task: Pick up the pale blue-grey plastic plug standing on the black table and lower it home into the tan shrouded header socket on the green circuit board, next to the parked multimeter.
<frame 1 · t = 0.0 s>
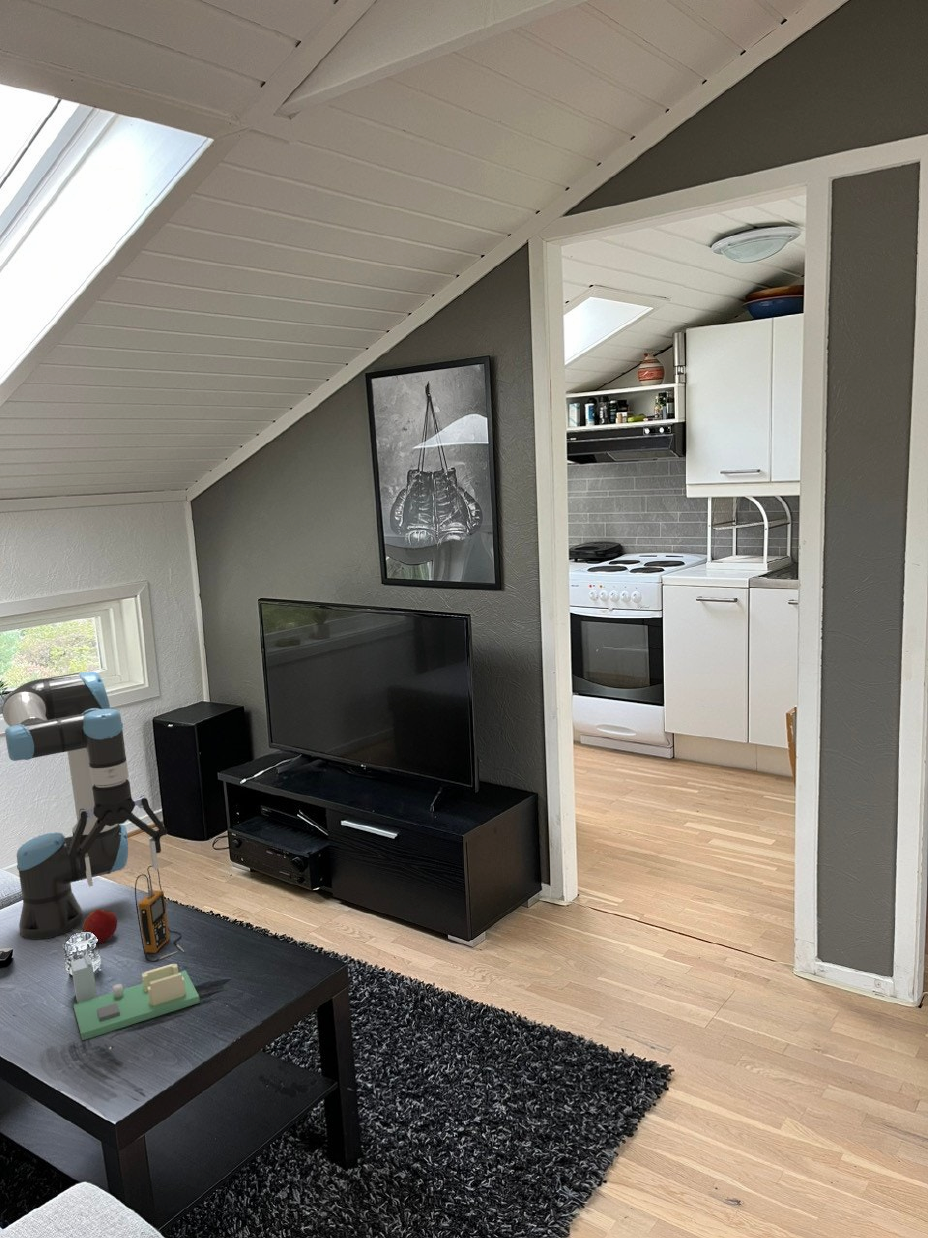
hand: (123, 876, 207), 28 cm above the table, fingers open, 13 cm apart
apple: (102, 941, 238), on the table
multimeter: (171, 948, 233), on the table
board: (137, 1006, 207), on the table
plug: (86, 997, 213), on the table
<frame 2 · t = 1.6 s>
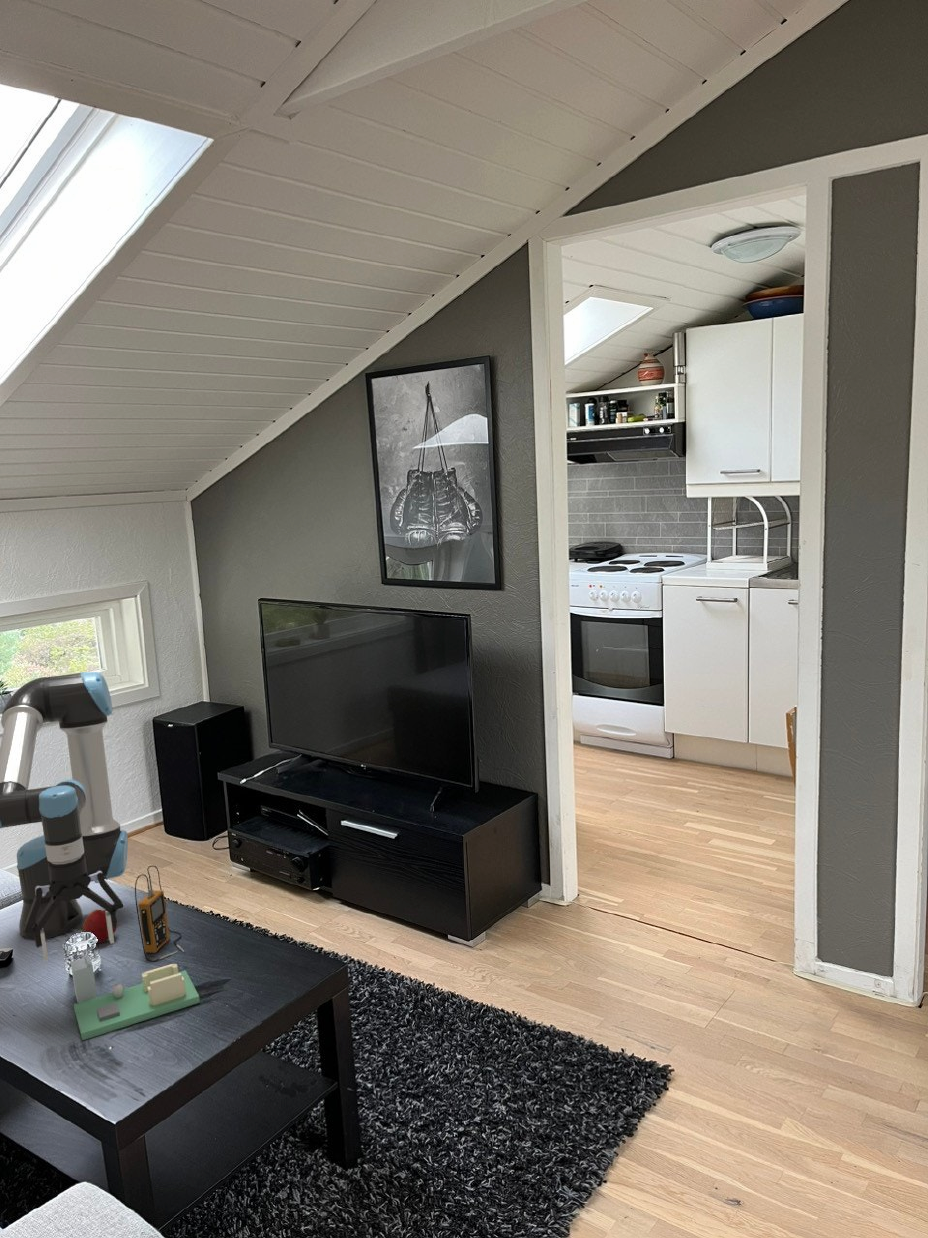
hand: (79, 950, 210), 11 cm above the table, fingers open, 13 cm apart
nothing on the table moved.
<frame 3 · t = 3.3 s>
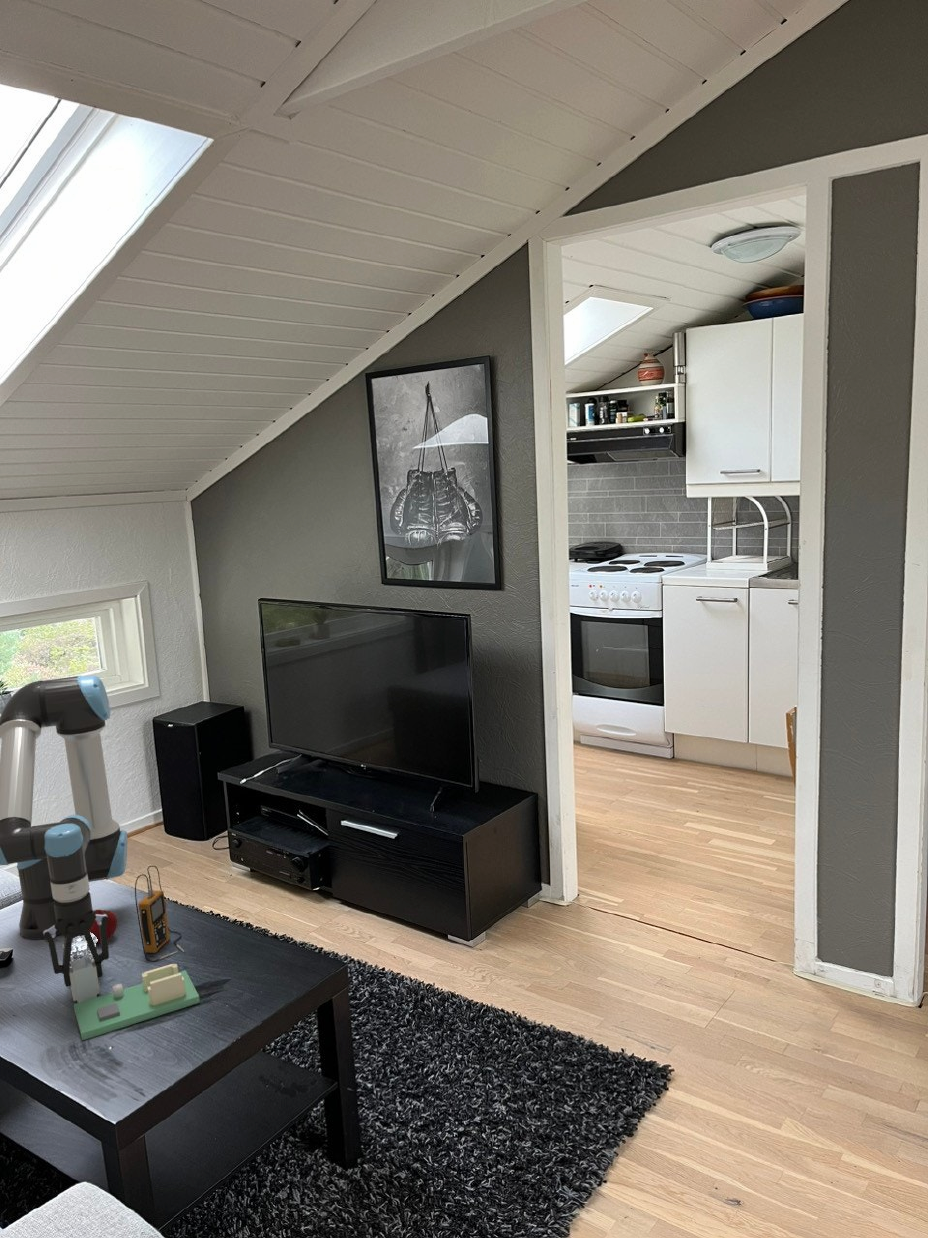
hand: (85, 994, 212), 1 cm above the table, fingers closed on plug, 4 cm apart
plug: (86, 997, 212), on the table, touching gripper
everything else where it was.
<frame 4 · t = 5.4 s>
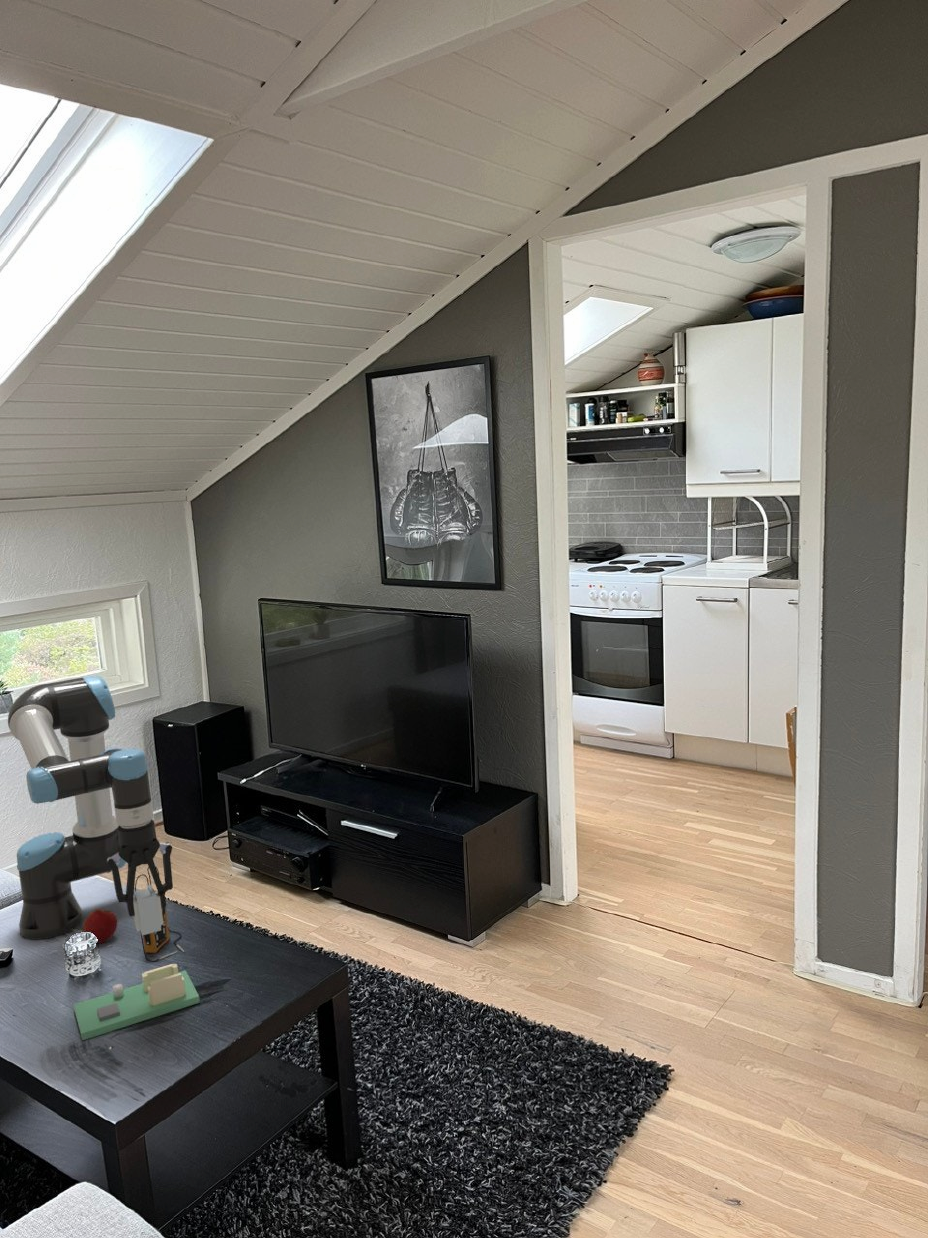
hand: (149, 925, 207), 17 cm above the table, fingers closed on plug, 4 cm apart
plug: (149, 928, 207), point 17 cm above the table, touching gripper
everything else where it was.
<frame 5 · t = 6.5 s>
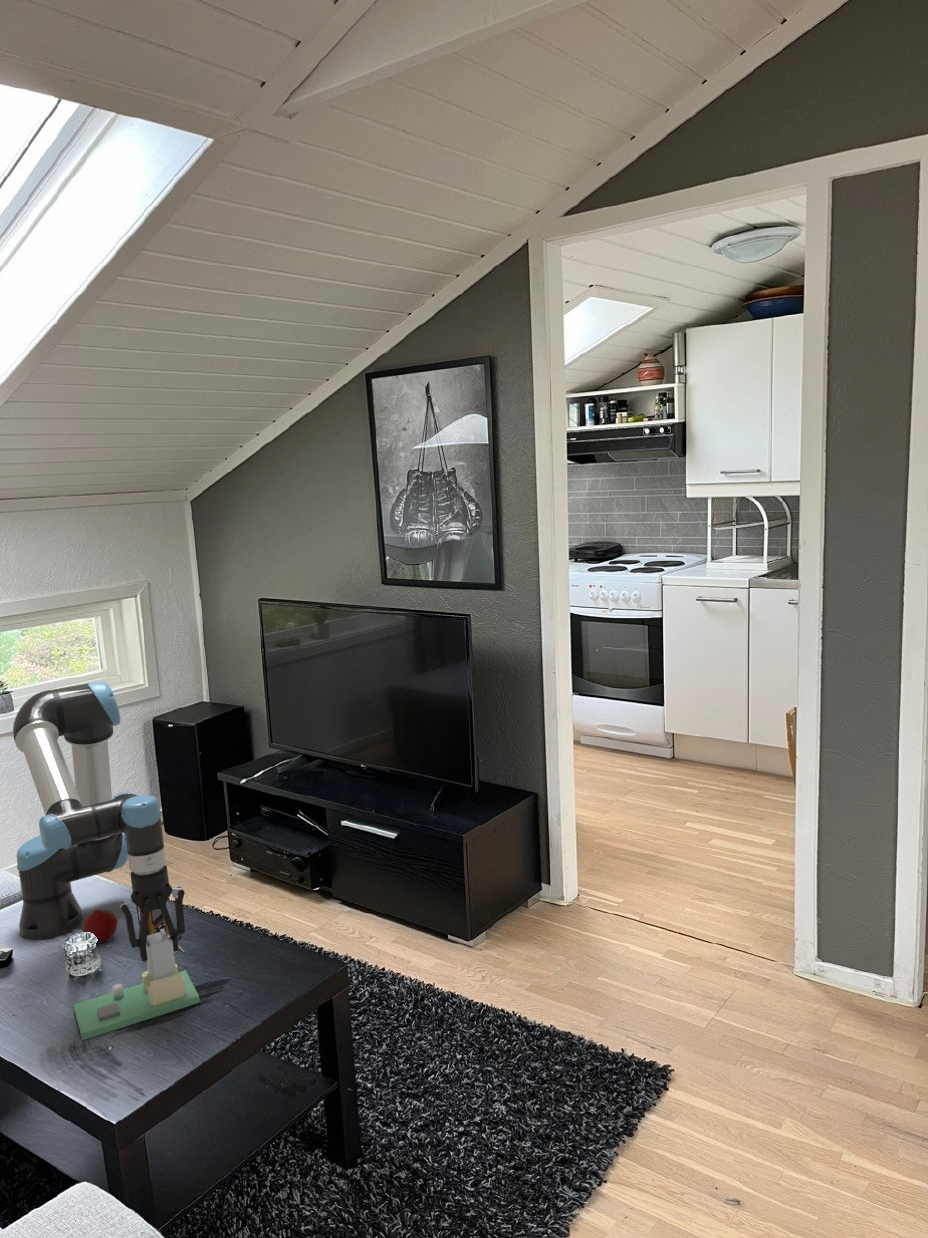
hand: (161, 969, 209), 7 cm above the table, fingers closed on plug, 4 cm apart
plug: (162, 972, 209), point 6 cm above the table, touching gripper
everything else where it was.
when the fingers open (3 cm above the table, at t = 7.5 s): plug stays where it is, resting on board.
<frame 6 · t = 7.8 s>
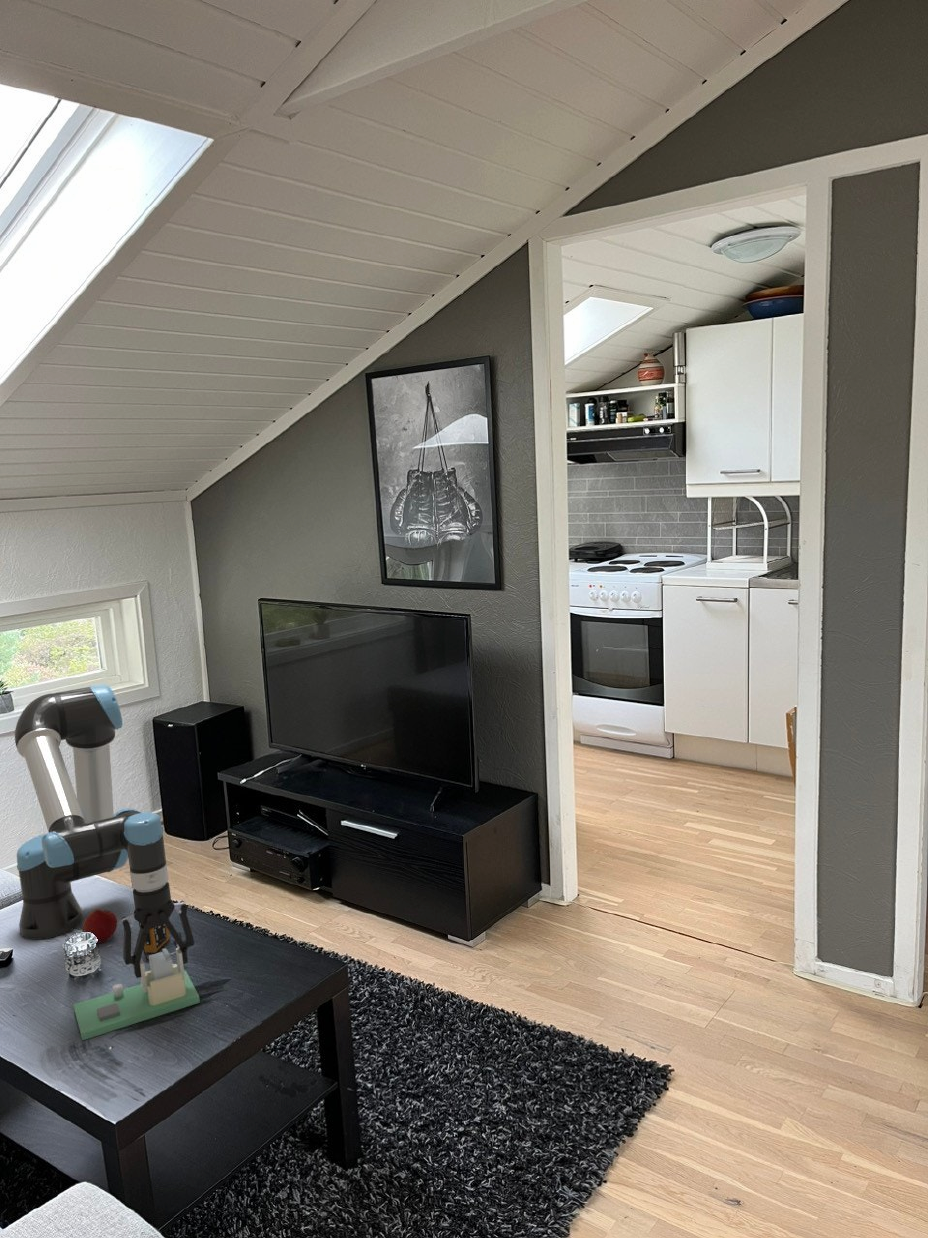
hand: (163, 983, 209), 3 cm above the table, fingers open, 7 cm apart
plug: (164, 991, 210), point 1 cm above the table, touching board
everything else where it was.
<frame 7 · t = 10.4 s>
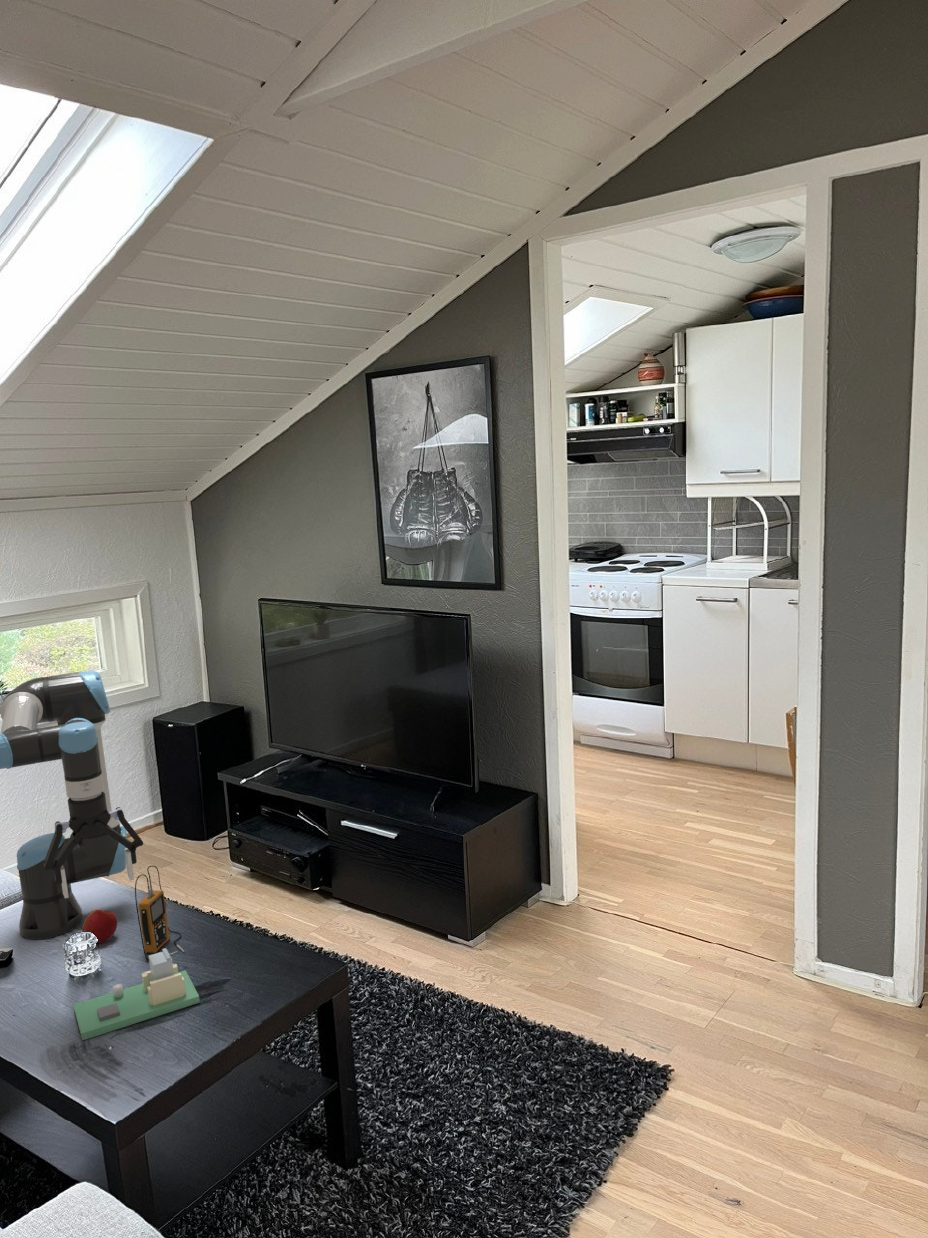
hand: (99, 887, 209), 25 cm above the table, fingers open, 13 cm apart
nothing on the table moved.
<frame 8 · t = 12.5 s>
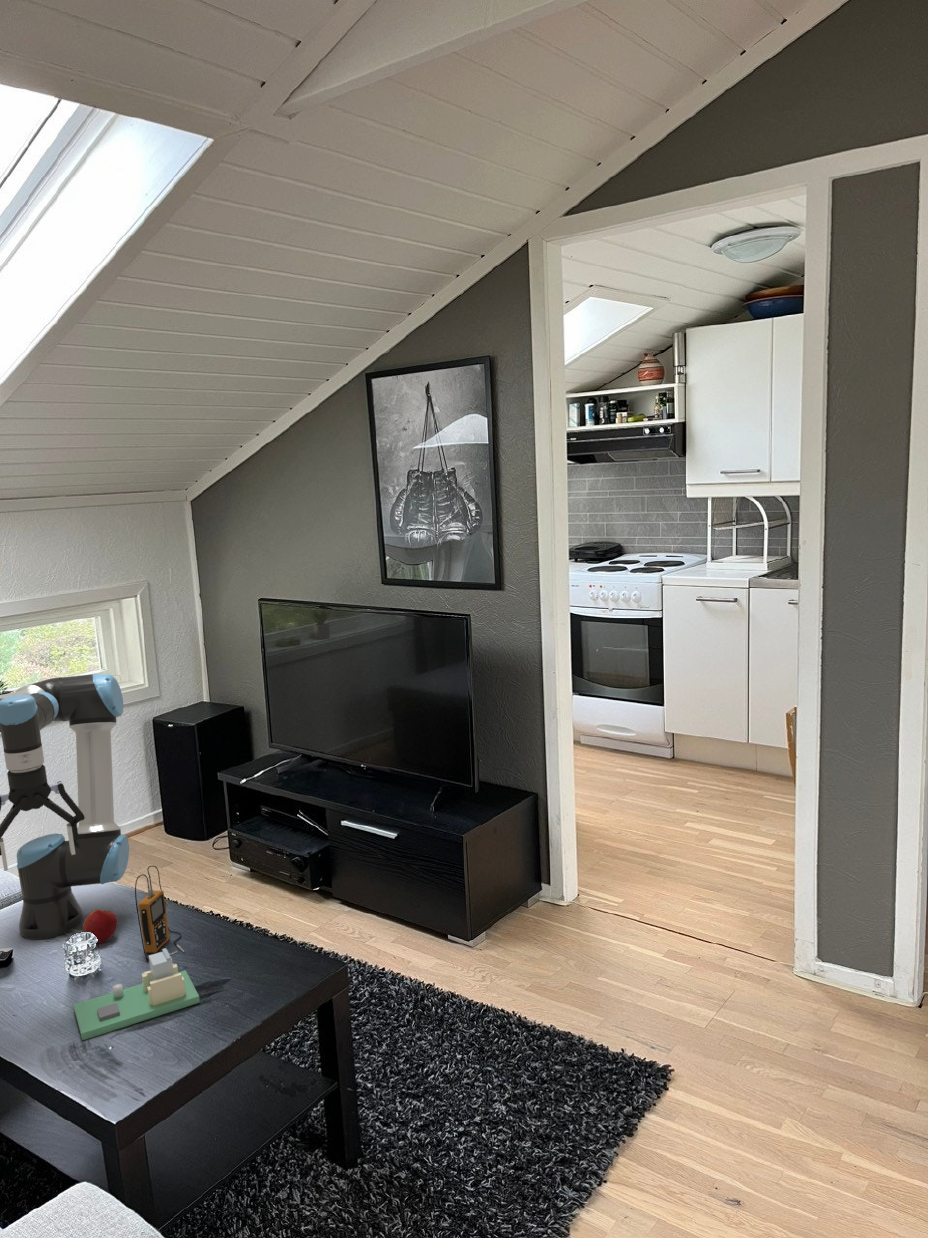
hand: (39, 860, 209), 32 cm above the table, fingers open, 13 cm apart
nothing on the table moved.
at the end: plug 0.1 cm from the target spot on the board, point 1.5 cm above the board's base; plug tilted 0°; the gripper is holding nothing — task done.
